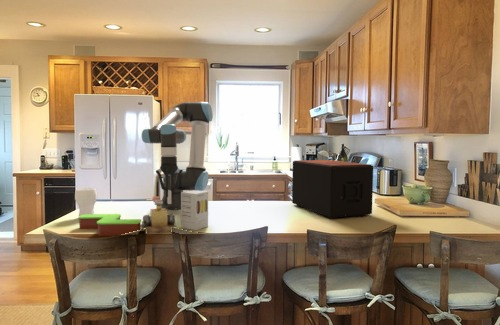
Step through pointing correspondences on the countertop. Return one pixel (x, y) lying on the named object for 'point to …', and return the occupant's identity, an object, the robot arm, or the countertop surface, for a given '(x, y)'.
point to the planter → (109, 224)
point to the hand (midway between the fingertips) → (169, 203)
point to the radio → (333, 187)
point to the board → (158, 229)
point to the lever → (157, 200)
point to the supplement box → (194, 209)
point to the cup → (86, 200)
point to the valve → (158, 217)
